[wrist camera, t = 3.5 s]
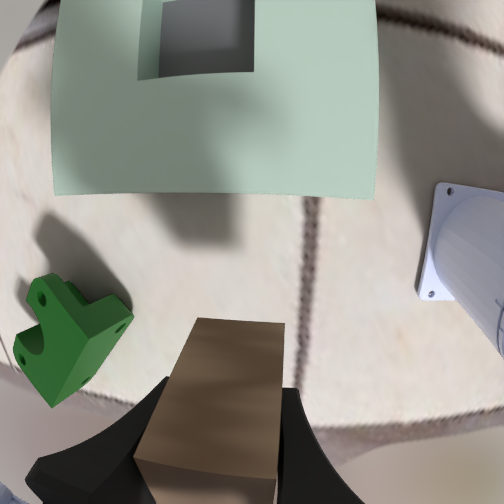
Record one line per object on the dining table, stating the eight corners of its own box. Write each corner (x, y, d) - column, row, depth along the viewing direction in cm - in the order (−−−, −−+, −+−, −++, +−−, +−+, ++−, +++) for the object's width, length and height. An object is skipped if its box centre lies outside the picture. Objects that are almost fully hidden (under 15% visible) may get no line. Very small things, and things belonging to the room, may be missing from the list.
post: (284, 323, 14) (276, 478, 7) (279, 386, 16) (269, 525, 8) (197, 317, 15) (133, 457, 7) (203, 380, 16) (160, 510, 9)
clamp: (108, 262, 27) (50, 249, 18) (152, 311, 26) (105, 319, 17) (40, 348, 26) (-21, 361, 17) (77, 394, 26) (22, 423, 17)
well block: (352, -64, 12) (361, -91, 9) (359, 189, 18) (373, 200, 15) (98, -40, 14) (74, -57, 11) (84, 185, 20) (54, 196, 17)
